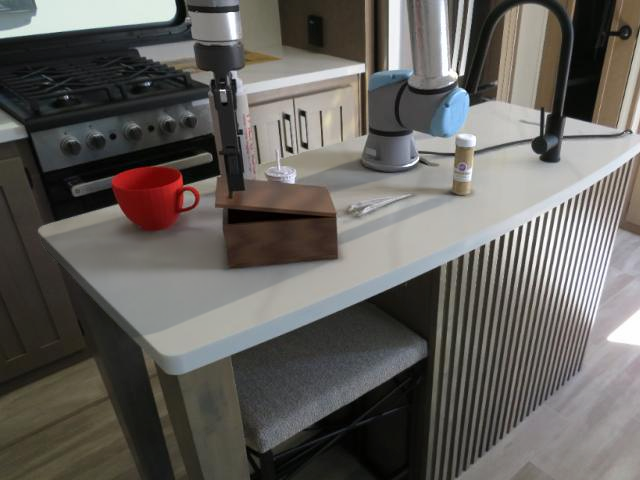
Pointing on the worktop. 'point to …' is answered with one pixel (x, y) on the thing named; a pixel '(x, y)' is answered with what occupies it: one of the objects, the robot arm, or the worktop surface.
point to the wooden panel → (276, 198)
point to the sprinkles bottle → (463, 163)
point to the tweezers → (373, 204)
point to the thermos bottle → (243, 124)
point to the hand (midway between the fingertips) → (236, 180)
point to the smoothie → (280, 173)
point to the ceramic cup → (152, 196)
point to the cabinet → (277, 237)
